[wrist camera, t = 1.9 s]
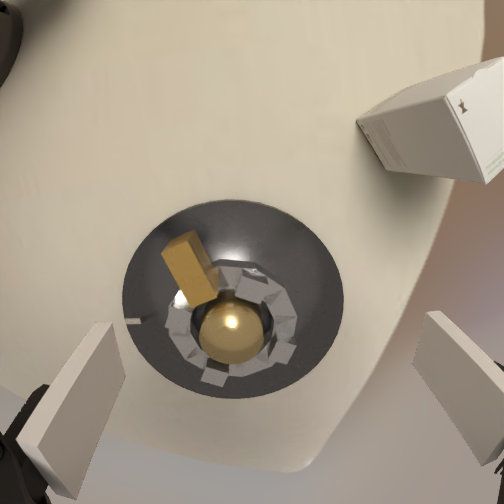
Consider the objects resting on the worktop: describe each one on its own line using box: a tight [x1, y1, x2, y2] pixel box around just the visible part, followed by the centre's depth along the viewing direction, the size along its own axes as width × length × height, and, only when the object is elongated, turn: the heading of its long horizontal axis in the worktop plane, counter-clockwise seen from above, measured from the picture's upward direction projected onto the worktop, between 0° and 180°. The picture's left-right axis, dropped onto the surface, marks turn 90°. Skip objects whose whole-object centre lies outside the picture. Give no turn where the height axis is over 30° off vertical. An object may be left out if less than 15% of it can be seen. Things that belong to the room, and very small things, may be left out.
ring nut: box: [161, 229, 297, 387], centre depth 30 cm, size 17×13×6 cm
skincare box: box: [357, 56, 504, 185], centre depth 22 cm, size 8×7×16 cm
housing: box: [122, 200, 344, 399], centre depth 32 cm, size 24×24×6 cm
